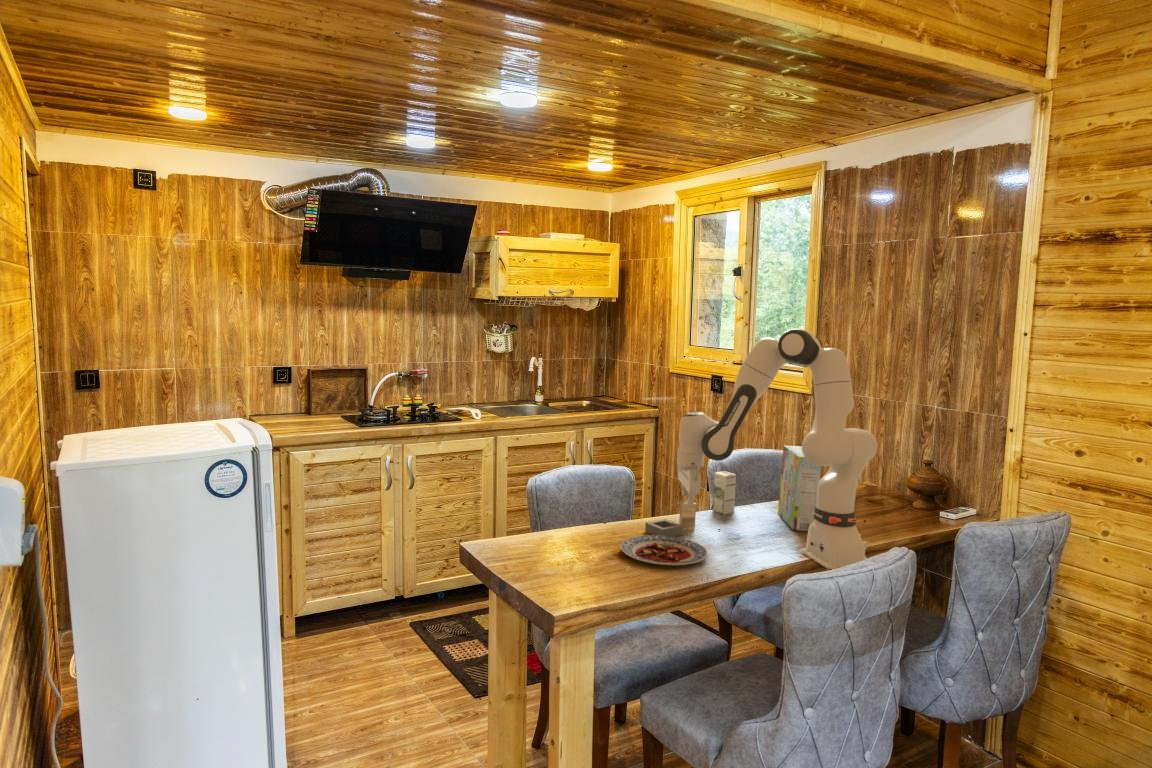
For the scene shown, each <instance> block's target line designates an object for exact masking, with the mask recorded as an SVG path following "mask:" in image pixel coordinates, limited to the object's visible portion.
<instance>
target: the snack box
mask: <svg viewBox="0 0 1152 768" xmlns="http://www.w3.org/2000/svg"><path fill="white" fill-rule="evenodd" d="M822 467H823V466H819V465H814V464H811V463H809V462H808V461H807V460H806V459H805V458H804V456H803V453H802V445H801V446H799V445H785V444H784V445H783V449H782V461H781V473H780V483H779V485H780V486H779V495H778V496H779V498H778V507H777V508H778V509H777V514H778V515H779V516H780V517H781V519H783V521H784V522H785V523H786V524H787V525H788V526H789V528H790V529H791V530H792V531H799V532H808V529H809V526H810V525H811V524H812V523H813V521H814V508H815V506H816V501H817V487H818V482H819V480H820V479H821V476H822V475H821V474H822Z"/></svg>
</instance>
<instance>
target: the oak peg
mask: <svg viewBox="0 0 1152 768" xmlns="http://www.w3.org/2000/svg"><path fill="white" fill-rule="evenodd" d="M679 501H680V502H679V516H678V524H679V525H682V526H683V531H695V528H696V515H697V514H696V513H697V512H696V511H697V503H696V502H695V501H694V504H693V505H689V504H688V499H680V500H679ZM687 529H688V530H687Z"/></svg>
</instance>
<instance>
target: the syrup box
mask: <svg viewBox="0 0 1152 768" xmlns="http://www.w3.org/2000/svg"><path fill="white" fill-rule="evenodd" d="M713 481H714V482H713V496H712V497H713V500H712V511H713V512H716V513H719V514H721V515H728V514H729V515H730V514H734V513H735V503H736V502H735V500H736V499H735V498H736V486H737V485H736V481H737V474H735V473H732V472H729V471H726V470H721V471H716V472H714V480H713Z"/></svg>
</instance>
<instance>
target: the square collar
mask: <svg viewBox="0 0 1152 768" xmlns="http://www.w3.org/2000/svg"><path fill="white" fill-rule="evenodd" d="M644 525H645V526H644V527H645V529H644V532H645V531H646V532H645V533H648V534H650V535H652V534H653V535H661V536H672V537H678V535H679V536H683V531H684V530H683V526H682V525H679V523H676V522H674V521H671V520H670V519H666V518H665V519H664V518H663V519H658V520H653V521H652V520H651V521H647V522H645V524H644Z"/></svg>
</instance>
